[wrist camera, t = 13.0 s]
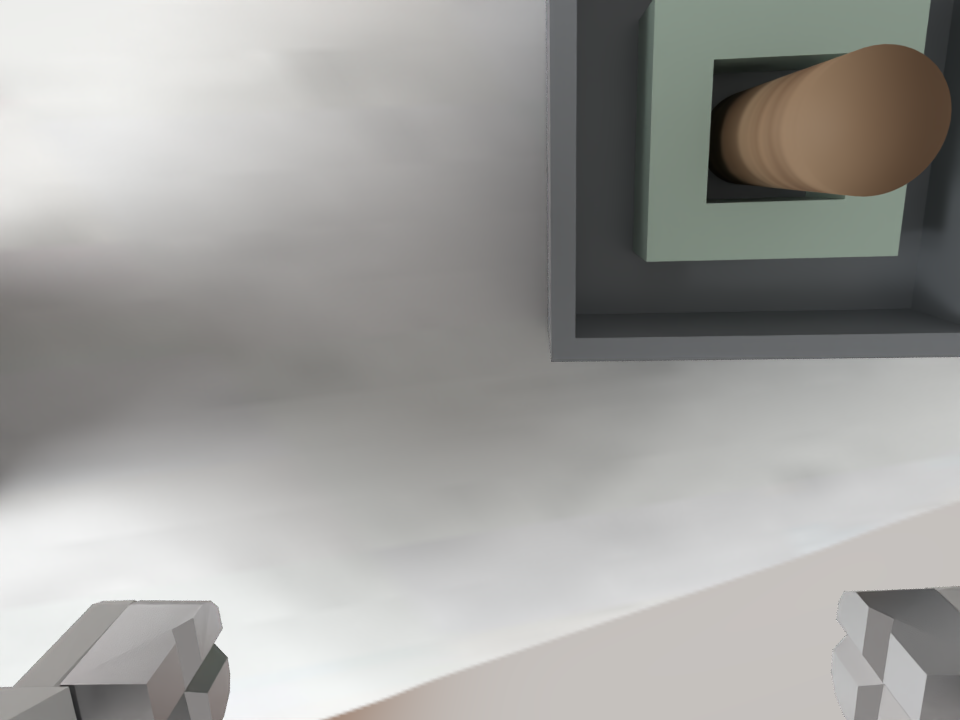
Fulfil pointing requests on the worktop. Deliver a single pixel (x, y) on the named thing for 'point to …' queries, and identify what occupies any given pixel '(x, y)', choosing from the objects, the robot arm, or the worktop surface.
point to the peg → (835, 125)
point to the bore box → (733, 192)
